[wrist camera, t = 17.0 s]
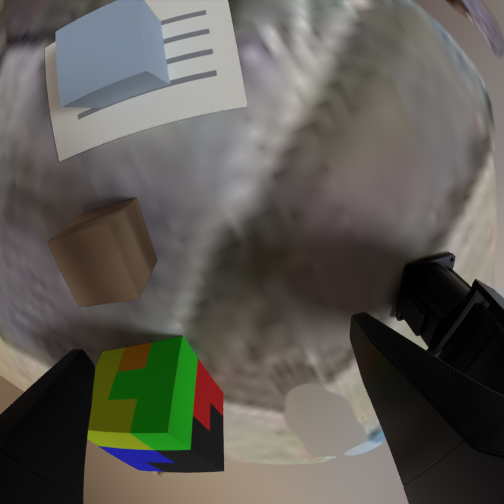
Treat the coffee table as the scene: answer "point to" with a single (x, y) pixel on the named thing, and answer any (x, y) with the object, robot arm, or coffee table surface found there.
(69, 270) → the walnut block
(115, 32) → the blue cube
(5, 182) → the coffee table surface
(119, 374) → the puzzle toy
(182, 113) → the letter
